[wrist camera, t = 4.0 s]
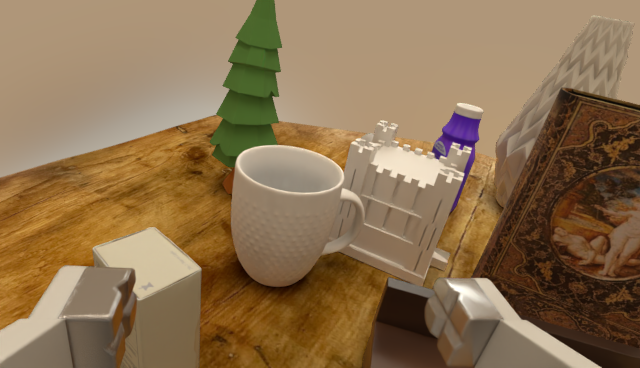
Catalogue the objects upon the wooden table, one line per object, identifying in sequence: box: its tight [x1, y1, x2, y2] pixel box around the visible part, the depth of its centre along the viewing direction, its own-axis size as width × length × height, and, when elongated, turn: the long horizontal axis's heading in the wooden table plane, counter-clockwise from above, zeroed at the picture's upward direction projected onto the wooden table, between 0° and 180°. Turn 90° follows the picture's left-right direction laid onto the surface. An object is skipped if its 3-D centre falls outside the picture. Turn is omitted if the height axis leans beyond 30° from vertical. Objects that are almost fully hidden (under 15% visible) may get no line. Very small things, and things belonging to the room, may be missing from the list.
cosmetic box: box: [93, 227, 201, 368], centre depth 27 cm, size 6×4×12 cm
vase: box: [494, 16, 634, 208], centre depth 64 cm, size 17×17×33 cm
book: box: [471, 87, 640, 349], centre depth 39 cm, size 16×6×25 cm, turn 65°
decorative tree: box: [210, 0, 282, 194], centre depth 52 cm, size 10×9×30 cm
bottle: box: [432, 103, 483, 212], centre depth 62 cm, size 7×6×17 cm
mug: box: [231, 145, 365, 287], centre depth 42 cm, size 15×11×13 cm
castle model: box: [327, 120, 472, 287], centre depth 50 cm, size 13×15×14 cm
